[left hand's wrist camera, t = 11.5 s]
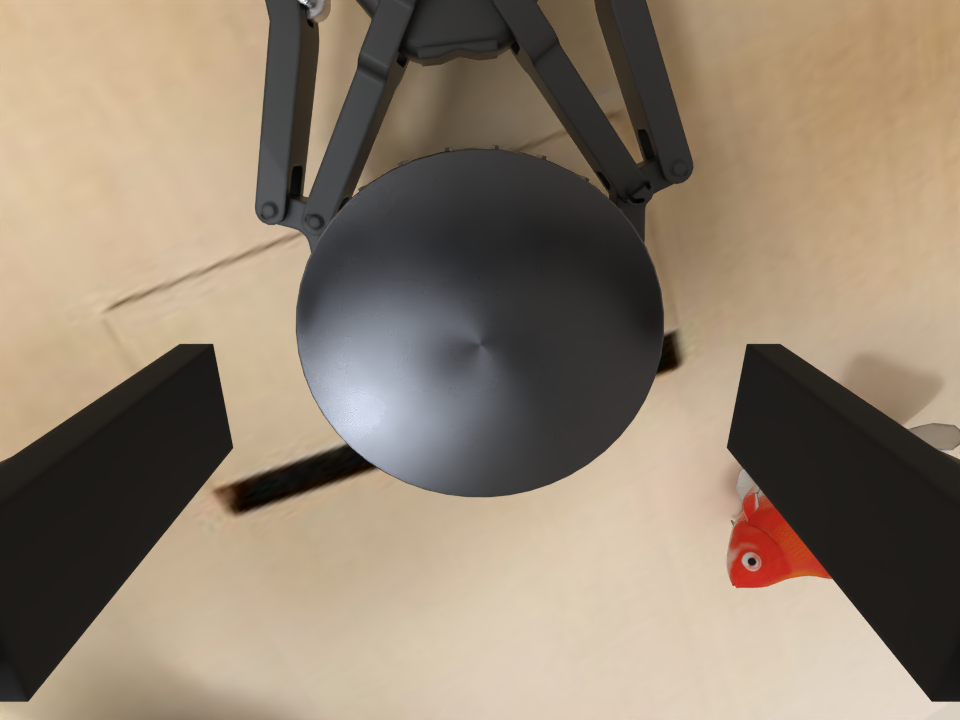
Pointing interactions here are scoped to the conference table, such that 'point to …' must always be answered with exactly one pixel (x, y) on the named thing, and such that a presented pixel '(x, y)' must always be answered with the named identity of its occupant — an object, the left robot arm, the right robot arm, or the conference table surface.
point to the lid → (480, 322)
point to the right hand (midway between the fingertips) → (488, 355)
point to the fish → (788, 529)
